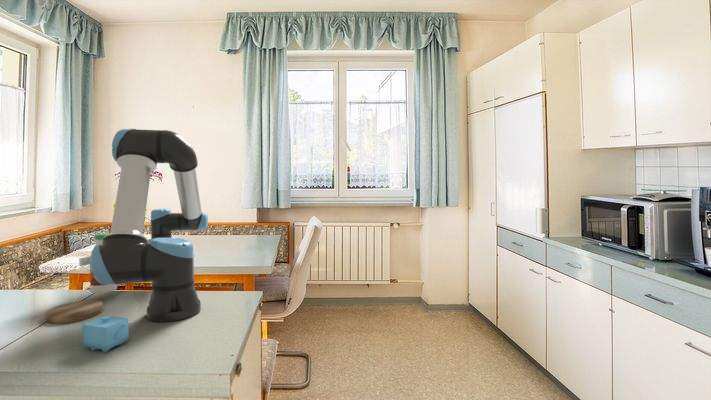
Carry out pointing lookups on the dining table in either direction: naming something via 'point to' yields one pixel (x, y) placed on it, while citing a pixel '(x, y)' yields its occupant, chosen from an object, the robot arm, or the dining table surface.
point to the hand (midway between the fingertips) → (90, 262)
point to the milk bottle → (94, 284)
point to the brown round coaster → (74, 311)
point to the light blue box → (105, 333)
